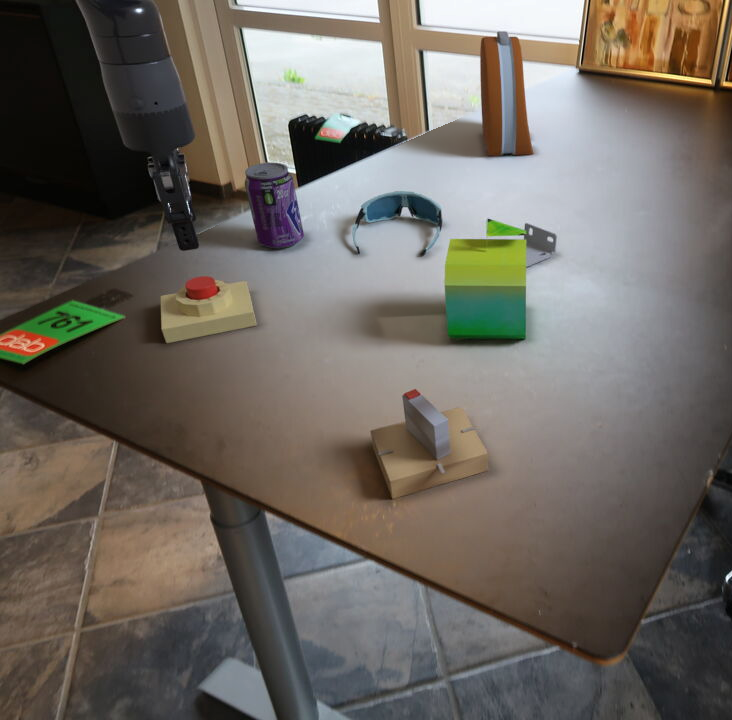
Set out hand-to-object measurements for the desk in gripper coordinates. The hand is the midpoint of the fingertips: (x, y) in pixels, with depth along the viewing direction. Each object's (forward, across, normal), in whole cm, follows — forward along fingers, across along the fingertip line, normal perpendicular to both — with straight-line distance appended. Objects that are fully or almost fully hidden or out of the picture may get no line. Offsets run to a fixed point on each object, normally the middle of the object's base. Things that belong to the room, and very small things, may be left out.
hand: (188, 234), depth 87 cm
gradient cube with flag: (+12, -16, -34) cm, 39 cm away
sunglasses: (+13, +15, -30) cm, 36 cm away
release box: (+12, 0, 0) cm, 12 cm away
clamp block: (+12, -38, -19) cm, 44 cm away
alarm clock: (+13, +52, -63) cm, 83 cm away
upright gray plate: (+10, -38, -19) cm, 43 cm away
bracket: (+12, 0, -46) cm, 47 cm away
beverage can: (+12, +20, -12) cm, 26 cm away
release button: (+9, 0, 0) cm, 9 cm away
